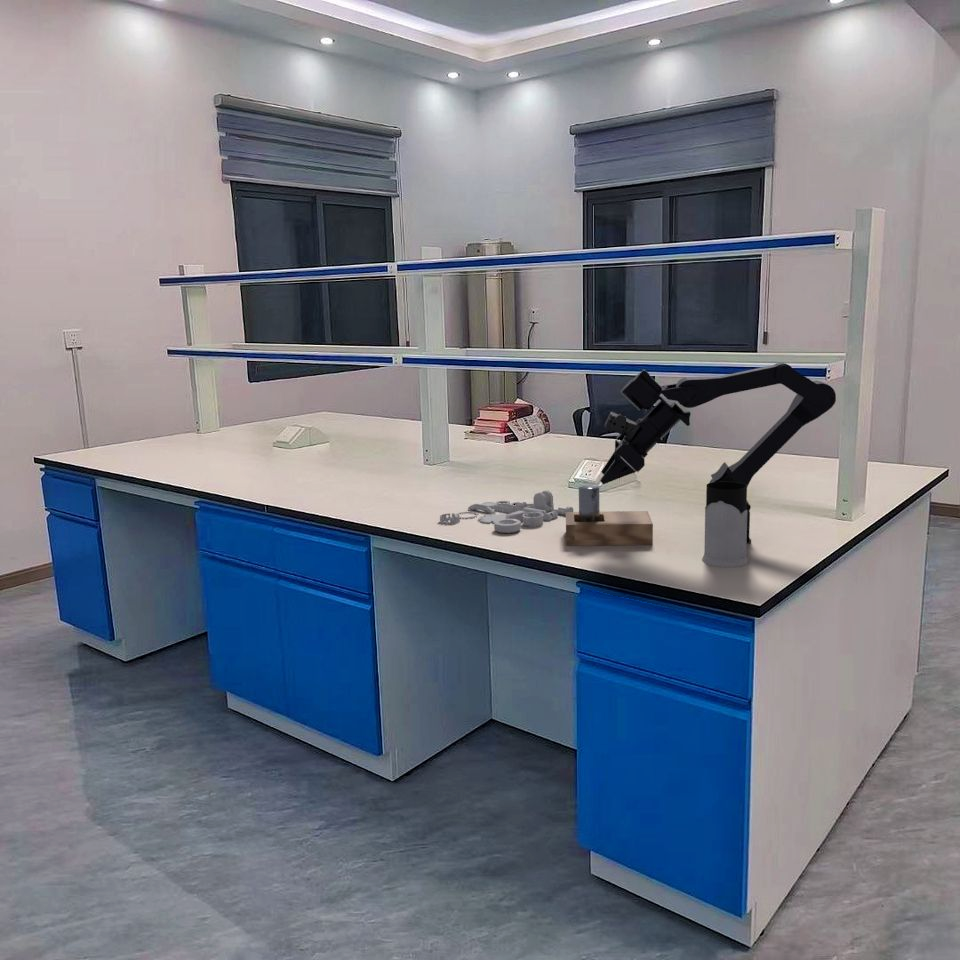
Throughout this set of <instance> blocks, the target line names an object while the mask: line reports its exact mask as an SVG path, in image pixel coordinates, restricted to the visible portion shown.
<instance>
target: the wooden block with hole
mask: <svg viewBox="0 0 960 960" xmlns="http://www.w3.org/2000/svg"><path fill="white" fill-rule="evenodd" d="M653 526H654V524H653V521H652V518H651V515H650V514H649V511H648V510H626V511H625V510H623V511H620V510H618V511H617V510H616V511H615V510H614V511H612V510H611V511H600V522H579V511H573V512H566V515H565V538H566V539H565V542H566V543H565V545H566V546H567V547H568V546H569V547H570V546H571V547H572V546H573V547H574V546H644V545H645V546H653V545H654V541H653V540H654V539H653V537H654V535H653V533H654V531H653V530H654V527H653Z"/></svg>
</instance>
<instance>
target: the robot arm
mask: <svg viewBox="0 0 960 960" xmlns="http://www.w3.org/2000/svg"><path fill="white" fill-rule="evenodd" d="M776 385H782V386H784V387H785V388H787V389H788V390H790V391H792V392H793V393H795V394H796V395H795V397H794V398H793V399H792V401H791V403H790V405H789V407H788V409H787V411H786V412H785V413H784V414H783V416H781V417H780V418H779V419H778V420H777V421H776V423H774V424H773V425H772V426H771V427H770V428H769V430H768V431H767V432H766V433H765V434H763V435H762V437H761V438H760V439H759V440H758V441H756V443H755V444H754V445H753V446H752V447H751V448H750V449H749V450H747V452H746V453H745V454H744V455H742V457H741V458H740V459H739V460H738V461H736V462H735V463H733V464H731V465H730V466H729V465H728V464H727V463H726V462H723V463H722V464H721V466H720V467H719V469H718V470H717V471H715V472H714V473H712V474H711V475H710V477H711V479H710V480H709V483H712V482H721V481H729V482H739V483H743V484H746V485H747V488H748V486H749V484H750V482H751V481H752V479H753V477H754V475H756V474H757V473H758V472H759V471H760V470H761V468H763V467H764V466H765V465H766V464H767V463H768V462H769V461H770V460H771V459H772V458H773V457H774V456H775V455H776V454H777V453H778V452H779V451H780V449H782V447H784V446H785V444H787V443H788V442H789V441H790V440H791V438H792V437H794V436H795V435H796V433H798V432H799V431H800V430H801V428H802V427H804V426H805V425H808V424H809V423H811V422H813V421H815V420H816V419H819V418H820V417H821V416H823V414H825V413H826V412H829V410H831V409H832V408H833V407H834V405H835V404H836V401H837V400H836V399H837V397H836V396H837V395H836V391H835V390H834V388H833V386H831V385H829V384H827V383H825V382H823V381H821V380H811V379H810V378H808V377H806V376H805V375H804V374H801V373H800V372H798V371H797V370H795V369H794V368H793V367H792V366H791V365H789V364H787V363H785V362H778V363H775V364H772V365H766V366H762V367H758V368H753V369H748V370H747V369H746V370H744V371H739V372H733V373H728V374H723V375H719V376H687V377H683V378H680V379H679V380H678V381H677V382H676V383H672V384H665V385H660V384H659V383H658V382H657V381H656V380H655V379H654V378H653V377H652V376H651V375H650V373H649V372H648V371H647V370H646V369H642V370H641V371H640V372H639V373H638V374H636V376H634V378H631V379H630V380H629V381H628V382H627V383H626V384H625V385H624V386H623V387H622V389H621V390H620V394H621V395H622V396H623V397H625V398H626V399H627V400H628V401H629V402H630V403H631V404H632V405H633V406H634V407H635V408H636V409H637V410H638V411H641V410H645V411H649V410H650V409H651V408H652V407H653V406H654V407H653V408H652V409H651V410H650V411H649V412H648V413H647V414H646V415H645V416H644V417H643V418H638V419H637V420H636V421H634V420H631V419H629V418H628V417H627V416H626V415H622V414H621V413H619V414H618V413H616V412H614V411H610V413H609V415H608V416H607V419H606V421H605V423H604V427H603V428H604V429H606V430H609V431H613V432H615V433H618V435H617V436H616V439H615V440H614V451H613V453H612V454H611V456H610V457H609V459H608V460H607V462H606V463H605V465H604V466H603V468H602V470H601V474H603V476H602V477H601V478H600V480H599V481H600V482H601V484H602V485H605V484H608V483H611V482H613V481H617V480H619V479H622V478H623V477H627V476H629V475H632V474H635V473H639V472H640V471H641V470H642V469H644V467H645V464H646V463H645V458H646V457H647V456H648V453H649V452H650V451H651V450H652V449H653V448H654V447H655V446H656V445H657V444H658V445H659V444H660V443H661V442H662V441H663V438H664V437H665V436H666V435H667V434H668V433H670V431H672V429H673V428H674V427H675V426H677V425H678V423H679V422H680V421H681V422H682V423H684V425H685V426H687V427H688V426H690V425H691V423H690V418H691V415H692V414H691V411H687V410H686V411H684V410H683V409H682V408H681V407H680V406H682V407H684V408H687V409H691V408H696V407H698V406H701V405H704V404H706V403H708V402H712V401H713V400H715V399H717V398H721V397H722V396H726V395H730V394H731V395H732V394H734V393H735V394H736V393H741V392H747V391H749V390H750V391H751V390H755V389H760V388H765V387H770V386H776ZM662 395H663V396H664V398H665V399H664V398H663V397H662ZM666 399H667V400H670V401H675V402H672V403H671V404H670V403H669V402H668V401H667V400H666ZM659 400H660V401H659ZM658 401H659V402H658ZM676 402H678V404H680V406H679V405H678V404H677V403H676ZM656 403H657V404H656ZM655 404H656V405H655ZM751 508H752V507H751V504H750V502H749V501H748V500H747V507H746V510H747V542H746V544H747V543H752V539H751V537H750V528H751V526H750V523H751V522H750V520H751V512H750V510H751Z"/></svg>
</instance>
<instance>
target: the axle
mask: <svg viewBox="0 0 960 960" xmlns="http://www.w3.org/2000/svg"><path fill="white" fill-rule="evenodd" d="M578 512H579V522H600V512H601V510H600V487H599V486H597V485H581V486H578Z"/></svg>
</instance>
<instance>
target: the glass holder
mask: <svg viewBox="0 0 960 960" xmlns="http://www.w3.org/2000/svg"><path fill="white" fill-rule="evenodd" d="M705 494H706V496H705V497H706V498H705V499H706V500H705V502H706V503H705V504H706V506H705V507H704V553H703V555H702V558H701V561H702V562H703V563H704V564H706V565H709V566H712V567H717V568H738V567H740V568H741V567H742V566H746V565H747V564H749V559H748V557H747V556H748V555H747V543H746V542H747V510H746V507H747V501H748V496H747V495H748V487H747V485H746V484H743V483H739V482H729V481H721V482H712V483H707V484H706V493H705Z"/></svg>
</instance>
